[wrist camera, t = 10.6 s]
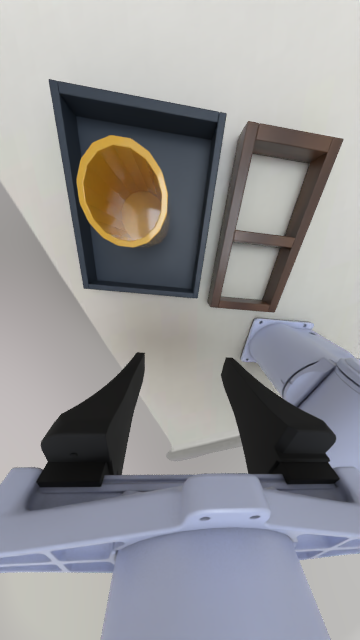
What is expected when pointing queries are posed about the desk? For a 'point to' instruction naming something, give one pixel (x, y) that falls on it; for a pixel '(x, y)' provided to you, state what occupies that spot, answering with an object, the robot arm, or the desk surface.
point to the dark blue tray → (179, 174)
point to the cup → (123, 193)
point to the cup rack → (321, 160)
